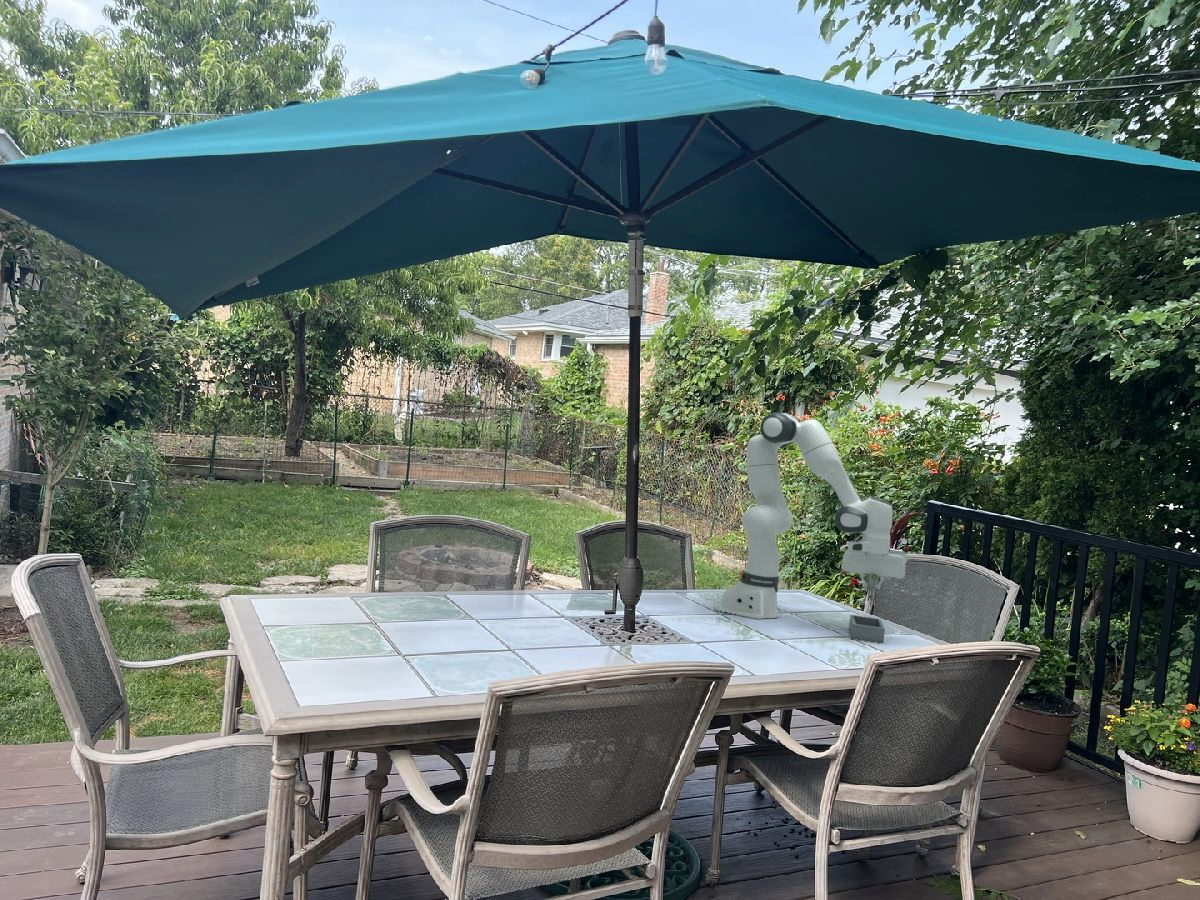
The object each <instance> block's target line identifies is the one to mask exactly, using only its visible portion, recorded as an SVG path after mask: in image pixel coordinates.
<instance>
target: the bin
mask: <svg viewBox="0 0 1200 900" xmlns="http://www.w3.org/2000/svg"><path fill="white" fill-rule="evenodd" d="M848 626H849V627H848V632H849V631H850V632H849V635H851V636H850V640H853V639H857V640H856V641H860V640H864V641H863V642H866V641H870V642H869V643H873V642H877V643H876V644H880V643H883V644H884V640H885V639H884V638H885V630H886V628H885V626H884V624H883V621H882V618H876V617H869V616H863V615H856V614H850V615H849V624H848Z"/></svg>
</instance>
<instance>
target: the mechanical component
mask: <svg viewBox="0 0 1200 900" xmlns="http://www.w3.org/2000/svg"><path fill="white" fill-rule="evenodd" d="M865 578H866V579H865V582H868V585H867V588H868V589H867V590H868V591H867V592H868V593H867V602H869V601H870V602H873V597H874V589H875V586H876V585H877V584H878V582H879V576H878V575H877V574H875V573H872V574H871V575H870V574H865Z"/></svg>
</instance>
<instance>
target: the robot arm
mask: <svg viewBox="0 0 1200 900" xmlns="http://www.w3.org/2000/svg"><path fill="white" fill-rule="evenodd" d="M759 427H760V428H759V429H760V433H761V434H757V435H754V436H752V437H750V438H749V440H748V441H747V445H746V468H747V469H746V471H747V478H748V479H747V480H748V488H749V490H750V492H751V494H752V495H753V497H754V499H755V504H756V505H754V506H752V507H749V509H747V510H745V512H744V513H743V515H742V518H741V523H742V527H743V530H744V531H745V532H746V538H747V547H748V548H747V549H748V554H747V563H746V565H747V566H746V571H745V570H741V572H740V573H739V576H740V577H739V582H737V583H736V584H734V585H732V586H730V587H729V588H728V589H726V590H725V591H724V593H723V594H722V598H721V601H718V602H717V603H715V604H714V609H715V610H716V611H717V610H718V611H717V612H720V611H721V612H720V613H725V612H727V613H726V614H730V613H731V615H735V614H736V616H740V617H741V616H742V617H745V618H746V617H747V618H751V619H757V620H760V619H774V618H778V617H779V610H778V596H777V595H778V591H779V585H780V576H779V570H780V563H781V562H780V561H781V553H780V551H779V548H778V544H777V535H781V534H784V533H785V532H787V531H788V530H789V529H790V528H792V525H793V521H794V516H793V513H792V511H791V510H790V509H789V508H788V505H787V502H786V500H785V499H786V498H785V495H784V493H783V490H782V484H781V476H780V475H781V474H780V468H779V467H780V466H779V455H778V452H779V449H783V448H785V447H788V446H790V445H792V444H795V445H796V446H797V448H798V449H799V451H800V452H801V455H802V457H803V460H804V461H805V464H806V465H807V466H808V468H809V469H810V470H811V472H812V473H813V474H814V475H816V476H817V477H820V478H822V479H823V480H825V481H826V482H827V483H828V484H830V486H831V487H832V488H833V489H834V491H835V493H836V495H837V497H838V498H839V501H840V503H841V504H842V506H841V507H840V508H838V509H837V510H836V513H835V515H834V523H835V526H836V527H837V529H838V530H840V531H841V532H843V533H845V534H857V533H858V534H862V537H861V539H858V540H852V541H849V542H848V543H847V549H846V550H845V551H844V554H843V556H842V560H841V561H842V562H841V569H842V571H843V572H846V573H854V574H855V573H856V574H859V576H860V579H861V580H862V588H866V589H867V588H868V587H867V586H868V582H867V581H866V580H865V578H866V575H867V574H870V575H871V574H872V573H875V574H877V575H878V577H879V579H880V580H878V584H877V585H875V588H874V589H875V590H881V585H882V584H883V582H884V581H885V579H886V578H885V577H887V578H894V579H895V578H896V579H904V578H906V577H905V576H906V564H907V562H908V556H909V555H908V553H907V552H906V551H904V550H903V549H895V548H890V544H891V536H890V533H891V529H892V526H893V506H892V503H891V502H889V501H888V500H885V499H883V498H879V497H874V496H871V497H868V498H866V499H864V500H862V497H860V495H859V493H858V492H857V489H856V487H855V486H854V484H853V482H852V481H851V479H850V477H849V475H848V474H847V472H846V469H845V467H844V464H843V463H842V461H841V458H840V456H839V453H838V451H837V448H836V447H835V444H834V443H833V440H832V438H831V437H830V435H829V433H828V432H827V430H826V429H825V427H824V426H823V425H822V424H821V422H820V421H819V420H816V419H811V418H809V419H806V420H803V421H800V420H799V419H798V418H797V417H796V416H794V415H792V414H789V413H787V412H777V411H776V412H771V413H769V414H767V415H765V416H764V418H763V419H762V420H761V423H760V426H759Z"/></svg>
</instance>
